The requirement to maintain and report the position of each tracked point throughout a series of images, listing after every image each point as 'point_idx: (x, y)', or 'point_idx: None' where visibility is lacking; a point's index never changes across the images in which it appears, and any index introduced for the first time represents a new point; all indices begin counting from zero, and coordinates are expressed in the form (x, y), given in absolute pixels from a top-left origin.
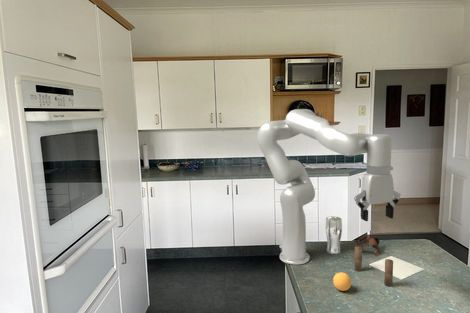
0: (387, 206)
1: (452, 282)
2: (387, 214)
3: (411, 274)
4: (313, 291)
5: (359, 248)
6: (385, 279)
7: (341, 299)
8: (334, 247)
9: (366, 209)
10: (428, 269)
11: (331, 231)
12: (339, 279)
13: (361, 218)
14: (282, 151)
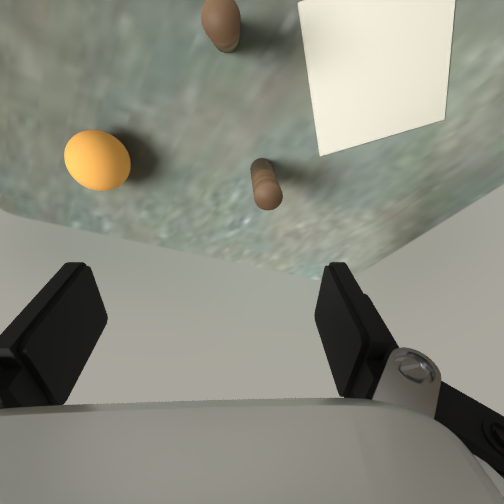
0: (355, 360)
1: (428, 205)
2: (326, 298)
3: (373, 138)
4: (12, 138)
5: (222, 29)
6: (251, 175)
7: (93, 198)
8: None
9: (42, 402)
10: (456, 121)
11: None
12: (76, 180)
13: (70, 267)
14: None
